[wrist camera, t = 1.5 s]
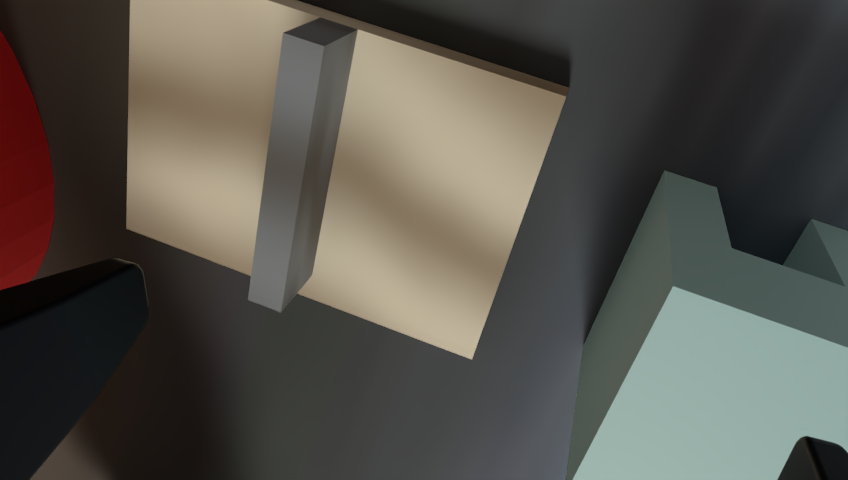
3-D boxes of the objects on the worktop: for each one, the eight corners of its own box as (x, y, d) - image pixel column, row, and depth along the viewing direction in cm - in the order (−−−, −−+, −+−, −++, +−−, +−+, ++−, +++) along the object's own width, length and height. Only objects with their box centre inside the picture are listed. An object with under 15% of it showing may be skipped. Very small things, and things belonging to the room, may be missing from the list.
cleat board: (477, 343, 25) (455, 405, 22) (142, 217, 27) (80, 258, 24) (569, 87, 20) (556, 122, 17) (150, -47, 22) (73, -37, 19)
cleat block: (752, 408, 23) (789, 587, 17) (582, 345, 24) (563, 496, 18) (866, 236, 20) (962, 387, 14) (664, 170, 21) (673, 286, 15)
